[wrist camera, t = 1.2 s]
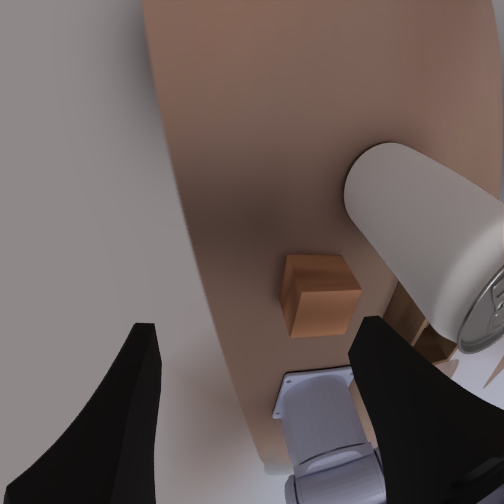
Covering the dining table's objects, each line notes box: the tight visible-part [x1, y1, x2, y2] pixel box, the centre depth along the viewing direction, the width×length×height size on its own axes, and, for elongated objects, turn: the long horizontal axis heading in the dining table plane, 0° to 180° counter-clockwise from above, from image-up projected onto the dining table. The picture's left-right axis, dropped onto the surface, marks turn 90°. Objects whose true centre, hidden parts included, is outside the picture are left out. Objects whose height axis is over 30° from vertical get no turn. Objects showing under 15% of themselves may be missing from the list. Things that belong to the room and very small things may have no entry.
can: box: [344, 143, 504, 354], centre depth 14 cm, size 6×6×12 cm
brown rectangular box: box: [383, 281, 458, 365], centre depth 22 cm, size 14×8×5 cm, turn 175°
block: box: [279, 255, 362, 338], centre depth 21 cm, size 4×4×4 cm
